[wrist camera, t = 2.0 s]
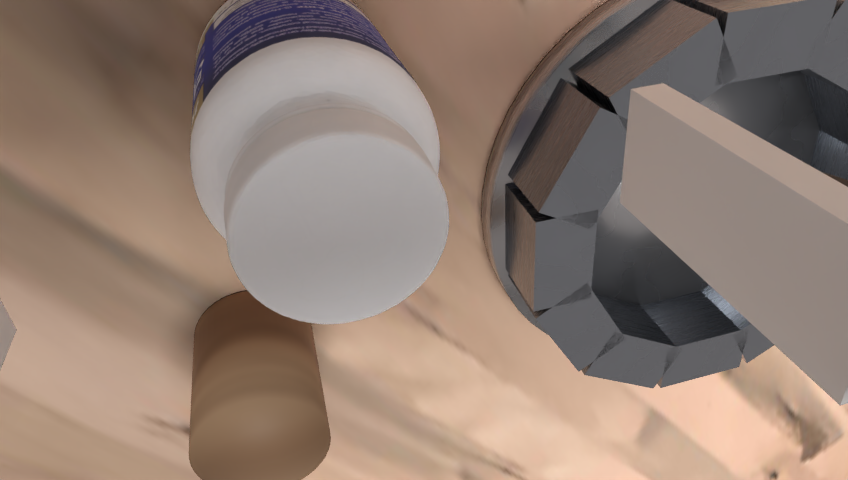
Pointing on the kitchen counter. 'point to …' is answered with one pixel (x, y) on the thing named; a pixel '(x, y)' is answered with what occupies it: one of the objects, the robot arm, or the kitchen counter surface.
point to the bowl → (603, 167)
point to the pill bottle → (315, 159)
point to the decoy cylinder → (255, 395)
